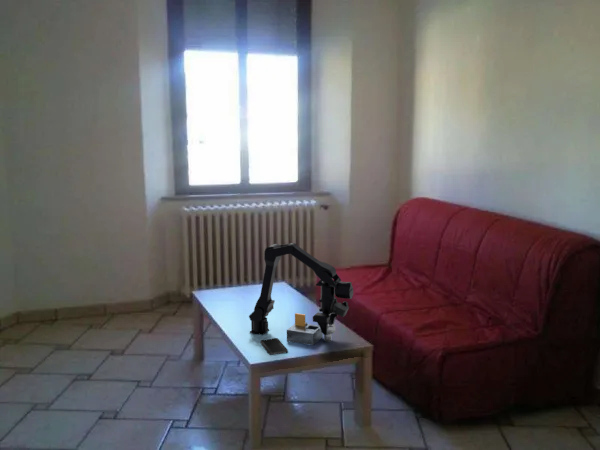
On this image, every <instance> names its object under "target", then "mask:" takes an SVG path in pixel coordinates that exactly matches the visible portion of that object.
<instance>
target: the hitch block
mask: <svg viewBox="0 0 600 450" xmlns="http://www.w3.org/2000/svg"><path fill="white" fill-rule="evenodd" d="M323 335H324V334H323V333H322V332H321V328H320V326H319V325H317V324H311V323H307V325H306V326H298V325H295V323H294V324H292V325H291V326H290V327H288V328H287V329H286V342H289V341H290V343H291V342H292V343H295V342H296V343H297V344H303V345H310V346H314V345H316V343H318V342H320V340H321V339H323V337H324V336H323Z"/></svg>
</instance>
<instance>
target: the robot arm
mask: <svg viewBox="0 0 600 450" xmlns="http://www.w3.org/2000/svg"><path fill="white" fill-rule="evenodd" d="M263 255H264V264H265V267H264V268H265V269H264V273H263V279H262V284H261V290H260V295H259V298H258V299H257V301H256V303H255V305H254V308H253V311H252V312H251V313H250V314H249V315H248V318H249V320H250V321H251V324H250V325H251V330H250V331H249V333H250V334H256V335H264V334H266V333H267V332H269V331H270V329H269V321H268V316H269V313H271V312H272V310H273V309H274V304H275V299H272V292H273V286H274V282H275V276H276V271H277V266H278V264H279V262H280V260H281V257H282V256H286V255H291V256H292V257H294V258H295V259H297V260H298V261H299V262H301V263H302V264H303V265H305V266H306V267H308V268H309V269H310V270H312V271H313V272H314V274H315V276H317V278H319V280H318V282H317V283H316V284H315V286H318V287H320V298H319V303H320V308H319V310H318V312H317V313H315V314H314V315H313V316H312V322H313V323H317V324H318V325H319V326H320V328H321V330H322V332H323V333H322V335H326V334H327V327H328V323H329V322H332V323H334V324H335V320H336V318H337V317H338V316H339V317H341V318H344V317H345V316H346V315H347V313H348V311H349V309H350V306H349V301H348V302H347V301H345V300H344V301H343V302H338V299H346V300H347V299H349V300H351V299H353V296H354V287H353V285H352V282H351V281H342V279H341V277H340V276H339V275H338V273H337V270H336V267H334V266H333V265H331V264H329V263H326V262H323V261H321V260H318V259H317V258H316V257H314V256H313V255H311V254H310V253H308V251H306V250H304V249H303V248H302V247H300V246H299V245H297V243H296V242H291V243H285V244H278V243H274V244H271V245H269V246H267V247H266V248H265V250H264V253H263ZM337 298H338V299H337Z"/></svg>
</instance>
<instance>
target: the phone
mask: <svg viewBox="0 0 600 450" xmlns="http://www.w3.org/2000/svg"><path fill="white" fill-rule="evenodd" d="M259 342H260V345H262V347H263V348H264V349H265V351H266V353H267V354H268V355H270V356H272V355H273V356H274V355H280V354H287V353H288V352H289V349H287V347H286V346H285V344H283V343H282V341H281V340H280V339H279V338H276V337H273V338H268V339H267V338H266V339H261V340H260V341H259Z"/></svg>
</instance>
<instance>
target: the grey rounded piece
mask: <svg viewBox="0 0 600 450" xmlns="http://www.w3.org/2000/svg"><path fill="white" fill-rule="evenodd" d="M321 332H322V330H321ZM335 332H336V323H335V322H334V323H332V322H329V323H328V327H327V334H326V335H324V334H323V332H322V334H323V335H324V336H323V337H324V340H323V341H324V342H325V343H329V342H332V334H334V333H335Z"/></svg>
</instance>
